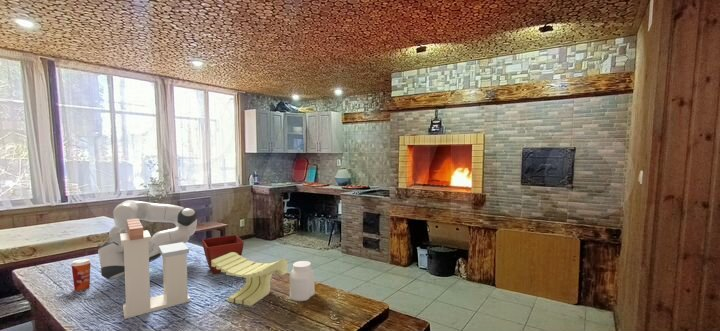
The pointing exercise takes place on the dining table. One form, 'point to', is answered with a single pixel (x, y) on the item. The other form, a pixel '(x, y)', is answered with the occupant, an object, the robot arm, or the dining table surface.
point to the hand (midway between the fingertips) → (133, 234)
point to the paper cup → (81, 274)
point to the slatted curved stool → (249, 276)
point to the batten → (135, 229)
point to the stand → (140, 278)
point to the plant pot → (221, 248)
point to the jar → (301, 281)
